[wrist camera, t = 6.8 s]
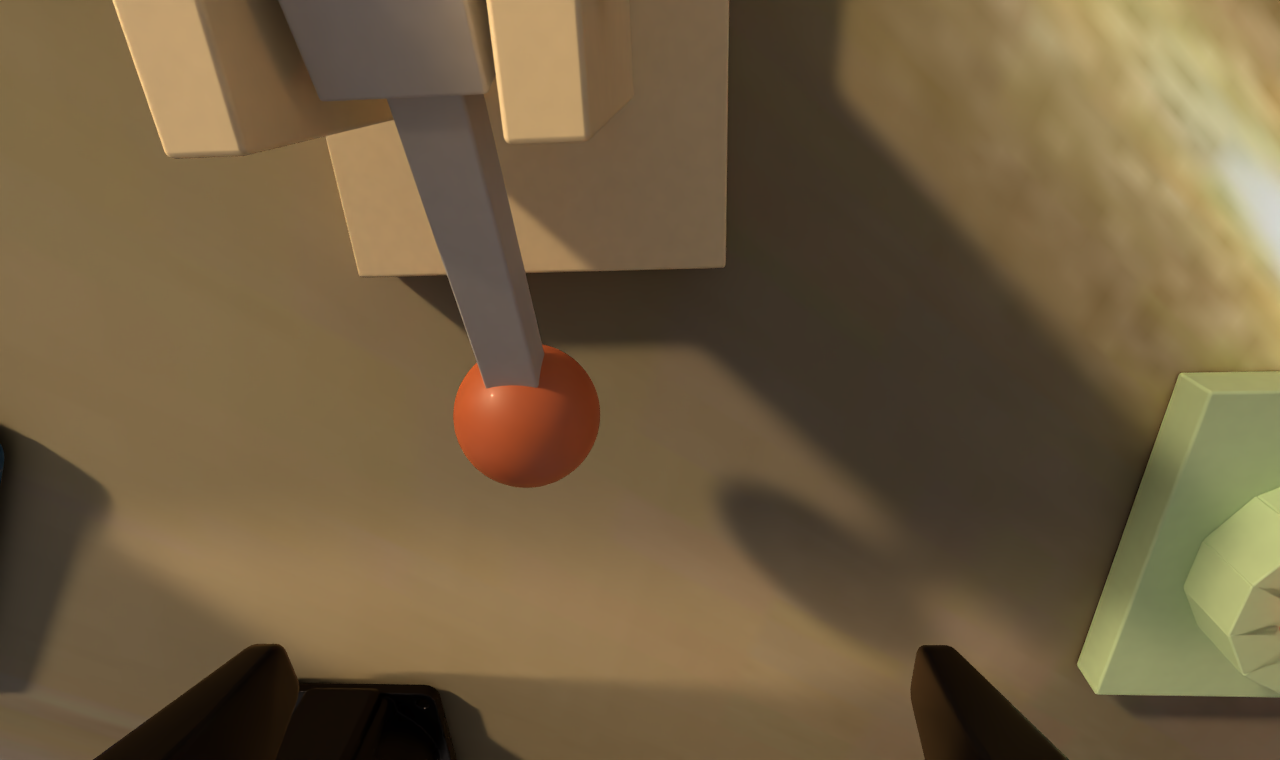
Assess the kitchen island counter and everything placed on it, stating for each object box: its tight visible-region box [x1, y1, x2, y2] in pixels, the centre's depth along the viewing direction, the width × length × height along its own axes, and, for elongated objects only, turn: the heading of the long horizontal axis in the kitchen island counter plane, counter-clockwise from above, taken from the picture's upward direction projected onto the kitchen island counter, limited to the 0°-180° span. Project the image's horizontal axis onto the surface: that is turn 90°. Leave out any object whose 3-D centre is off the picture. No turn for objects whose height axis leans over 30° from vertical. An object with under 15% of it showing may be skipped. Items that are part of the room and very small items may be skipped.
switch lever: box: [278, 0, 600, 488], centre depth 11 cm, size 12×3×3 cm, turn 3°
